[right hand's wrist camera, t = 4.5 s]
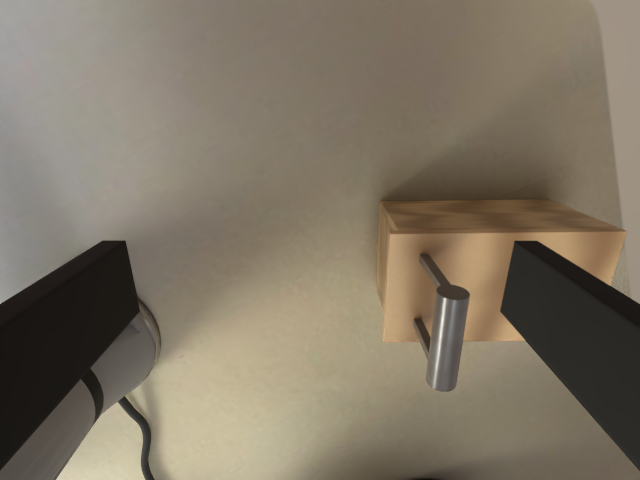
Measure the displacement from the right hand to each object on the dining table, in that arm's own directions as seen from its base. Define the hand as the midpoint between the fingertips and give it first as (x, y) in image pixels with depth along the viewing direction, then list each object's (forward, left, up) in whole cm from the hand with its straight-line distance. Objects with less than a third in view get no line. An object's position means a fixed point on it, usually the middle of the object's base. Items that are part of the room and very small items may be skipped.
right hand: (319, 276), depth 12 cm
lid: (-6, -15, -15) cm, 22 cm away
